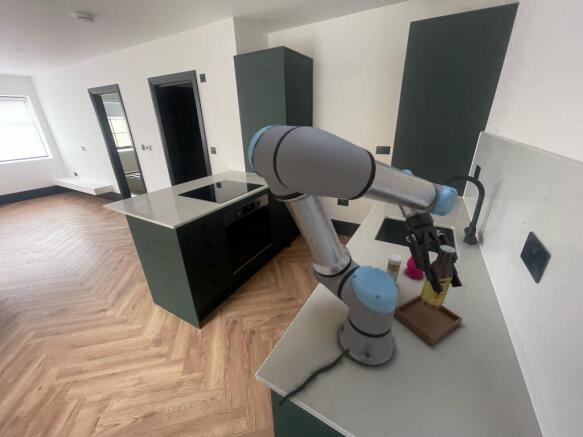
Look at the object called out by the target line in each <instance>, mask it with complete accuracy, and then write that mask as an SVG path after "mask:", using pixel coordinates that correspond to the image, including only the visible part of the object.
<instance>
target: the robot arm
mask: <svg viewBox="0 0 583 437" xmlns="http://www.w3.org/2000/svg"><path fill="white" fill-rule="evenodd" d="M247 158H248V159H247V160H248V164H249V166H250V168H251V169H252V170H253V171H254V174H256V175H257V176H258V177H260V178H263V179H264V181H265V183H266V185H267V187H268V188H269V190H270V192H271V194H272V196H273V197H274V199H275V200H277V201H280V202H284V204H285V206H286V208H287V209H288V212H289V213H290V215H291V218H292V219H293V221H294V222H295V224H296V226H297V229H298V230H299V233H300V234H301V236H302V237H303V239H304V241H305V243H306V245H307V247H308V249H309V250H310V253H311V254H312V259H311V264H310V270H311V273H312V275H313V277H314V278H315V280H316V281H317V282H318V283H320V284H321V285H323V287H325V288H326V289H327V290H328V291H329V292H330V293H332V294H333V295H334V296H335V297H337V299H339V301H341V302H342V303H343V304H344V305H346V307H348V313H347V317H346V318H345V319H344V321H343V323H342V324H341V327H340V329H339V343H340V346H341V348H342V349H343V351H342V353H340V355H338V356H337V357H336V359H335V360H333V361H332V362H331V363H329V364H328V365H325V366H323V367H321V368H318V369H317V370H316V371H314V372H313V373H312V374H310V376H308V378H307V379H306V380H305V381H304V382H303V383H302V384H301V385H300V386H298V387H297V388H296V389H294V390H292V391H290V392H289V393H287V394H285V395H284V396H283V397H282V399H281V400H280V401H279V402H278V407H281V406H283V404H284V403H285V402H286V401H287V400H288V399H289V398H290V397H293V396H294V395H296V394H297V393H299V392H301V391H302V390H303V389H304V388H305V387H306V386H307V385H308V384H309V383H310V381H312V379H314V378H315V377H316V376H318V375H319V374H320V373H322V372H324V371H327V370H329V369H331V368H332V367H333V366H335V365H336V364H337V363H338V362H339V361H340V360H342V358H343V357H344V356H345V355H348V356H349V357H350V358H351V359H352V360H354V361H355V362H357V363H359V364H362V365H365V366H371V367H377V366H381V365H385V364H386V363H388V362H389V360H391V358H392V356H393V353H394V348H395V343H394V337H393V334H392V324H393V320H394V317H395V316H394V312H395V308H397V307H398V306H397V305H398V301H399V299H398V297H399V288H398V284H397V283H396V282H395V280H394V279H393V278H392V277H391V276H390V275H389V274H388V273H387V272H386V271H385V270H383V269H382V268H379V267H376V266H375V267H373V266H372V265H360V264H359V263H357V262H355V261H354V260H353V258H352V255H351V252H350V250H349V248H347V246H345V245H344V244H342V243H341V242H340V239H339V236H338V234H337V232H336V229H335V227H334V224H333V221H332V219H331V217H330V214H329V212H328V209H327V206H326V204H325V201H324V199H323V197H324V198H334V199H340V200H347V201H357V200H359V199H361V198H362V199H369V200H372V201H377V202H382V203H385V204H392V205H396V206H398V207H399V210H400V212H401V215H402V218H403V219H405V220H404V222H405V225H406V227H407V230H409V231H410V235H408V236H406V237H404V241H405V243H406V244H407V246H408V249H409V252H410V255H411V256H412V258H413V261H414V264H415V267H416V269H420V270H421V271H422V270H423V271H424V272H423V274H424V276H425V278H427V280H428V281H430V284H431V286H432V289H433V291H434V292H443V289H442V286H441V284H440V281H439V279H438V277H437V274H436V272H435V270H434V268H432V269H430V268H431V265H430V264H431V260H430V253H429V247H431V248H432V249H433V250H434V251H435V253H436V254H437V255H438V253H439V247H440V246H441V245H447V246H451V247H453V246H452V244H451V242H450V240H449V238H448V237H447V233H446V230H445V229H444V228H443V229H437V228H436V227H435V226H434V223H435V220H434V218H433V216H432V215H435V216H440V217H446V216H448V215H449V214H450V213H452V212H453V210H454V208H455V207H456V204H457V202H458V198H459V197H458V196H459V193H458V191H457V189H455V188H454V187H451V186H448V185H446V184H444V185H442V184H438V183H434V182H433V181H430V180H427V179H424V178H422V177H420V176H417V175H415V174H413V172H412V171H411V170H409V169H400V168H397V167H394V166H392V165H389V164H387V163H385V162H382V161H379V160H377V159H376V158H375V156H374V155H373V153H372V152H371V151H370V150H368V149H366V148H364V147H361V146H359V145H357V144H355V143H353V142H351V141H349V140H347V139H345V138H343V137H340V136H338V135H336V134H334V133H331V132H329V131H327V130H325V129H321V128H320V127H319V128H318V127H314V126H306V125H305V126H299V125H298V126H297V125H285V124H283V123H282V124H281V123H279V124H272V125H267V126H265V127H262V128H261V129H259V130H258V131H257V132H256V133H255V134H254V135H253V136H252V138H251V140H250V143H249V145H248V149H247ZM416 241H417V242H416ZM428 245H430V246H429V247H428ZM458 260H459V258H458V255H457V253H456V254H455V256H454V257H453V260H452V272H453V277H452V280H451V283H450V285H451V287H452V288H460V287H463V284H462V281H461V280H460V277H459V275H458V274H459V273H458V270H457V268H456V266H455V264H456V263H457V261H458ZM425 264H426V265H425Z"/></svg>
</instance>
